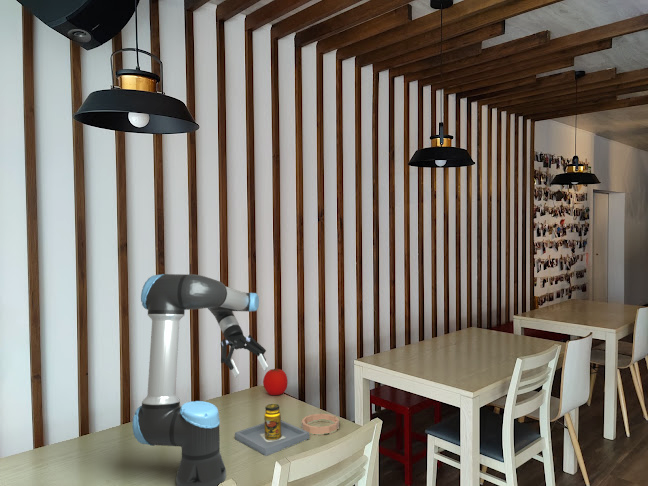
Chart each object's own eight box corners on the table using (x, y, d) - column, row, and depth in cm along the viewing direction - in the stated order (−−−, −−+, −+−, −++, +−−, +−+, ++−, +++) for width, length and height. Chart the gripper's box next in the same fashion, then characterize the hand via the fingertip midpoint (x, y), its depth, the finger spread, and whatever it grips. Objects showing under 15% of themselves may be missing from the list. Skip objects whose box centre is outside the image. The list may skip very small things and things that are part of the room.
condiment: (267, 442, 176) (267, 410, 176) (259, 434, 183) (258, 403, 183) (286, 438, 179) (285, 406, 179) (277, 430, 187) (276, 400, 186)
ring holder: (319, 438, 180) (318, 430, 180) (294, 427, 191) (294, 420, 191) (346, 427, 190) (346, 420, 190) (321, 418, 201) (321, 411, 201)
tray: (265, 456, 167) (265, 448, 167) (234, 439, 181) (234, 432, 181) (309, 439, 180) (309, 432, 180) (277, 424, 195) (277, 418, 195)
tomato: (279, 389, 241) (278, 364, 241) (292, 394, 232) (292, 368, 232) (258, 394, 233) (257, 368, 233) (271, 400, 224) (270, 373, 224)
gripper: (252, 331, 211) (273, 371, 200) (201, 339, 195) (220, 384, 183) (259, 320, 207) (281, 360, 196) (207, 327, 191) (227, 372, 180)
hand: (252, 372), depth 190 cm, fingers open, 13 cm apart
